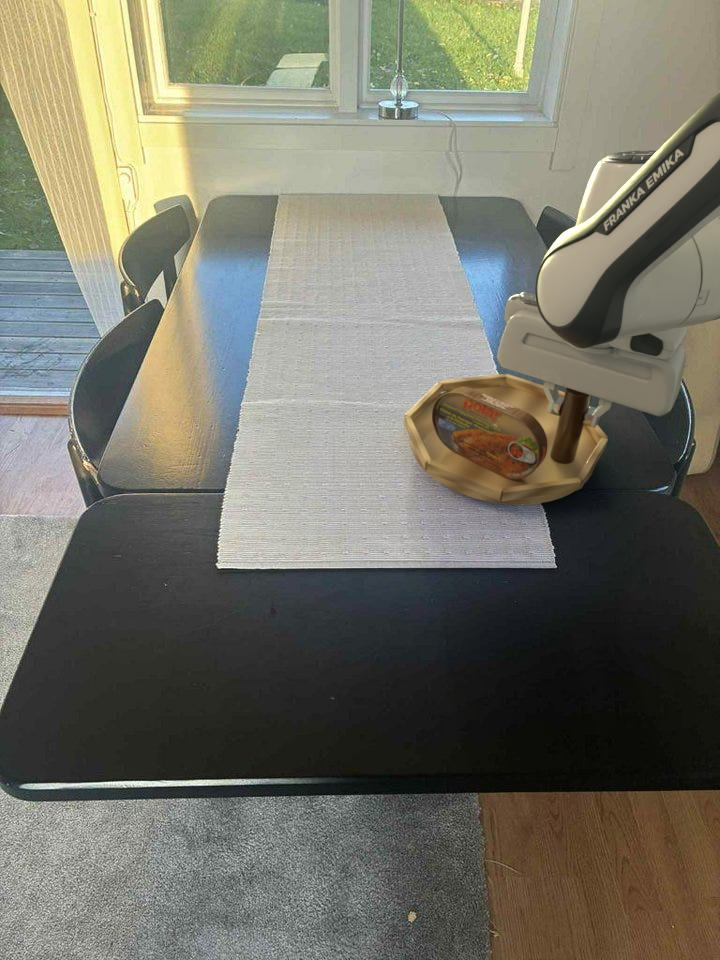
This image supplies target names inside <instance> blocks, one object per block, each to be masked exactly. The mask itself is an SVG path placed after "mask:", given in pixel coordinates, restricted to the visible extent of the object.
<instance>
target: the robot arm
mask: <svg viewBox="0 0 720 960" xmlns="http://www.w3.org/2000/svg"><path fill="white" fill-rule="evenodd" d="M534 293H535V294H534ZM534 293H531V292H525V291H523V292H521V293H520V294H513V295H512V296H510V297H509V299H508V300H507V302H506V305H505V311H504V320H505V323H506V325H505V328H504V330H503V333H502V336H501V339H500V342H499V346H498V350H497V353H496V359H497V362H498V363H499V365H500V367H501V368H504V369H506V370H509V371H512V372H515V373H518V374H522V375H524V376H529V377H531V378H534V379H537V380H541V381H543V384H542V385H543V389H544V392H545V394H546V396H547V399H548V401H549V405H548V409H547V412H548V413H551V414H554V415H557V416H559V415H560V412H561V408H562V404H563V400H564V397H561V396H560V395H559V392H558V390H559V389H558V386H559V387H560V386H561V387H563V388H565V389H566V388H569V389H572V390H576V391H579V392H582V393H585V394H588V395H592V397H595V398H599V400H598V406H597V407H594V406H592V405H589V409H588V410H587V412H586V413H585V417H584V421H583V424H584V425H587V426H590V427H593V428H595V427H596V425H598V424H599V422H600V419H601V417H602V416H603V415H604V414H605V413H607V412H608V411H609V410H610V409H612V406H613V405H614V404H618V405H620V406H624V407H627V408H629V409H632V410H636V411H639V412H643V413H646V414H650V415H652V416H656V417H662V416H665V415H666V414H668V413H670V412H671V410H672V409H673V408H674V405H675V404H676V400H677V398H678V395H679V392H680V389H681V385H682V381H683V377H684V372H685V367H686V359H687V357H686V356H687V355H686V350H685V347H684V345H683V343H684V340H685V338H686V336H687V333H688V330H689V329H688V328H689V327H691V326H692V327H693V326H697V325H701V324H705V323H709V322H711V321H716V320H719V319H720V91H718V92H717V93H716V94H715V95H714V96H713V97H711V98H709V100H708V101H706V102H705V103H704V104H703V105H702V106H701V107H700V108H699V109H698V110H696V112H694V113H693V114H692V115H691V116H690V117H689V118H688V119H687V120H686V121H685V122H684V123H683V124H682V125H681V126H680V127H679V128H678V129H677V130H676V131H675V132H674V133H673V134H672V135H671V136H670V137H669V138H668V139H667V140H666V141H665V142H664V143H663V144H662V145H661V147H659V148H658V150H630V151H620V152H613V153H611V154H608V155H606V156H605V157H603V158H601V159H600V160H599V161H598V162H597V163H596V166H595V167H594V168H593V170H592V172H591V175H590V177H589V179H588V182H587V184H586V188H585V190H584V194H583V196H582V200H581V203H580V207H579V210H578V214H577V217H576V221H575V226H573V227H570V228H567V230H565V231H563V232H562V233H561V234H560V235H559V236H558V237H557V238H556V240H555V241H554V242H553V243H552V245H551V246H550V247H549V249H548V251H547V252H546V253H545V255H544V257H543V259H542V261H541V263H540V266H539V268H538V270H537V274H536V279H535V288H534Z"/></svg>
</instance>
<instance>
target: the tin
mask: <svg viewBox="0 0 720 960" xmlns="http://www.w3.org/2000/svg"><path fill="white" fill-rule="evenodd" d="M432 422H433V426H434V429H435V432H436V434H437V436H438V437H439V439H440V440H441V442H442V443H443V444H444V445H445V446H446V447H447V448H448V449H450V450H451V451H453V452H455V453H456V454H459V455H461V456H463V457H465V458H467V459H469V460H471V461H473V462H475V463H477V464H479V465H481V466H483V467H485V468H487V469H489V470H491V471H493V472H495V473H497V474H499V475H501V476H503V477H505V478H509V479H522V478H525V477H527V476H529V475H530V474H532V473H533V472H534V471H535V469H536V468H538V467H539V466H540V465H541V463H542V462H543V461H544V459H545V457H546V453H547V437H546V434H545V431H544V429H543V427H542V426H541V424H540V423H539V422H538V421H537V420H536V419H535V418H534V417H533V416H532V415H531V414H529V413H528V412H526V411H524V410H521V409H519V408H517V407H514V406H512V405H510V404H507V403H505V402H503V401H501V400H498V399H496V398H494V397H491V396H489V395H487V394H484V393H482V392H480V391H477V390H475V389H472V388H468V387H460V388H457V389H454V390H452V391H450V392H449V393H446V394H444V395H442V396H441V397H439V398H438V399H437V401H436V402H435V404H434V407H433V410H432Z"/></svg>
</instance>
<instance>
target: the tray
mask: <svg viewBox="0 0 720 960" xmlns="http://www.w3.org/2000/svg"><path fill="white" fill-rule="evenodd" d="M460 387H468V388H472V389H475V390H477V391H480V392H482V393H484V394H487V395H489V396H491V397H494V398H496V399H498V400H501V401H503V402H505V403H507V404H510V405H512V406H514V407H517V408H519V409H521V410H524V411H526V412H528V413H529V414H531V415H532V416H533V417H534V418H535V419H536V420H537V421H538V422H539V423H540V424H541V426H542V427H543V429H544V431H545V434H546V437H547V453H546V457H545V459H544V461H543V462H542V463H541V465H540V466H539V467H538V468H536V469H535V471H534V472H533V473H532V474H530V475H529V476H527V477H525V478H522V479H509V478H505V477H503V476H501V475H499V474H497V473H495V472H493V471H491V470H489V469H487V468H485V467H483V466H481V465H479V464H477V463H475V462H473V461H471V460H469V459H467V458H465V457H463V456H461V455H459V454H456V453H455V452H453V451H451V450H450V449H448V448H447V447H446V446H445V445H444V444H443V443H442V442H441V440H440V439H439V437H438V436H437V434H436V432H435V429H434V426H433V422H432V410H433V407H434V404H435V402H436V401H437V399H438V398H439V397H441V396H442V395H444V394H446V393H449V392H450V391H452V390H454V389H457V388H460ZM558 392H559V395H560V396H561V397H564V400H563V404H562V408H561V412H560V415H559V416H557V415H554V414H551V413H548V412H547V409H548V405H549V401H548V399H547V396H546V394H545V392H544V389H543V384H540V383H537V382H534V381H531V380H528V379H525V378H522V377H518V376H515V375H513V374H509V373H499V374H489V375H480V376H470V377H462V378H454V379H453V378H452V379H444V380H440V381H438V382H437V383H436V384H434V385H433V387H431V388H430V389H429V391H427V392H426V394H424V395H423V397H421V398H420V399H419V400H418V401H417V402H415V404H414V405H413V406H412V407H411V408H410V409H409V410H408V411H407V412H406V413H405V414H404V420H403V425H404V428H405V430H406V432H407V434H408V436H409V445H410V449H411V452H412V455H413V456H414V458H415V460H416V462H417V463H418V465H419V466H420V467H421V468H422V469H423V470H424V471H425V472H426V473H427V474H428V475H429V476H430V477H432V478H433V479H434V480H435V481H437V482H438V483H440V484H441V485H443V486H445V487H447V488H448V489H449V490H452V491H454V492H457V493H458V494H461V495H463V496H465V497H469V498H473V499H474V500H475V499H476V500H479V501H482V502H483V501H484V502H488V503H493V504H498V505H499V504H500V505H501V504H502V505H512V506H513V505H514V506H519V505H520V506H527V505H536V504H537V505H538V504H543V503H548V502H552V501H555V500H559V499H562V498H564V497H566V496H569V495H571V494H573V493H575V492H577V491H579V490H581V489H582V488H583V486H584V484H586V483H587V482H588V481H589V479H590V478H591V477H592V475H593V473H594V471H595V468H596V466H597V463H598V462H599V459H600V458H601V456H602V455H603V453H604V452H605V450H606V448H607V444H608V442H609V437H608V436H607V435H606V433H605V432H604V431H603V430H602V428H601V427H600V425H598V424H597V425H596V427H595V428H593V427H590V426H587V425H584V424H583V421H584V417H585V413H586V412H587V410H588V409H589V407H590V406H591V401H592V397H593V396H592V395H588V394H585V393H582V392H579V391H576V390H572V389H569V388H566V387H565V391H561V390H559V389H558Z"/></svg>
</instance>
